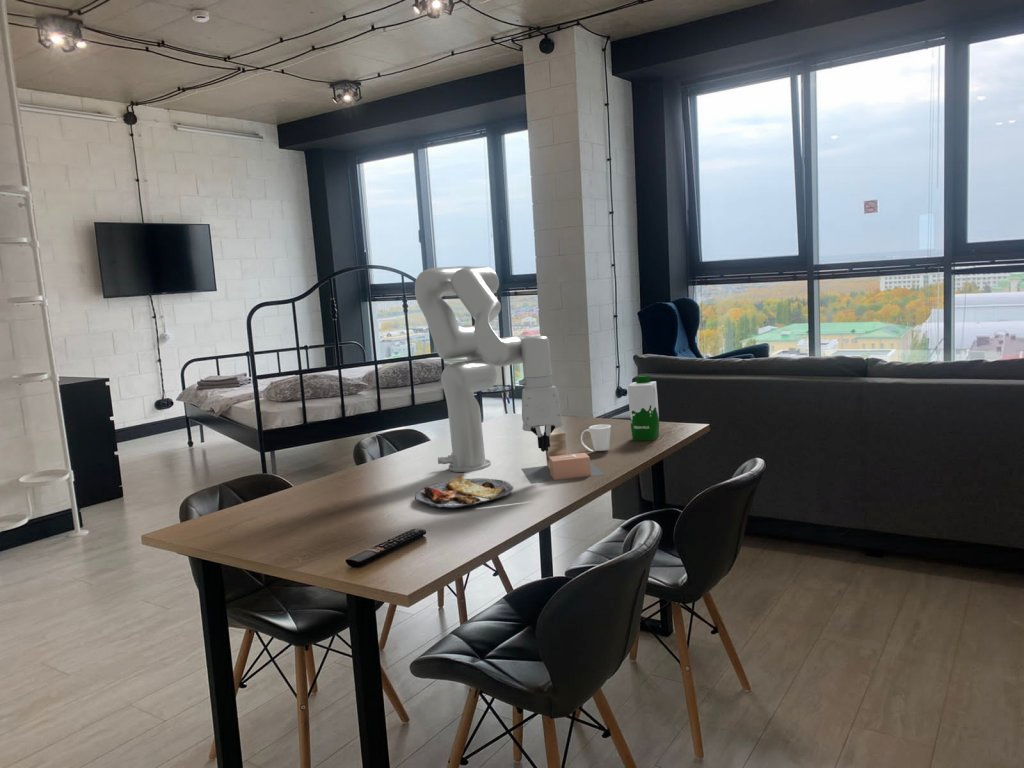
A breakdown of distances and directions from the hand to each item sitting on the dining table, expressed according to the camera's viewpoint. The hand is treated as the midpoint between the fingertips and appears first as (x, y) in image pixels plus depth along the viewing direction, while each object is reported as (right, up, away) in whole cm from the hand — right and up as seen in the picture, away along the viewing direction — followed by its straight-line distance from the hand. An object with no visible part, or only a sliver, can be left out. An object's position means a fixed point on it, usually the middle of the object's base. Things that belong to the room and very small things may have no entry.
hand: (544, 450), depth 206 cm
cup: (+17, -3, +28) cm, 33 cm away
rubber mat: (+5, -7, +6) cm, 11 cm away
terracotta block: (+2, -5, +1) cm, 5 cm away
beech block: (+4, -6, +12) cm, 14 cm away
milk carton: (+34, 0, +42) cm, 54 cm away
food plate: (-21, -12, -10) cm, 26 cm away
